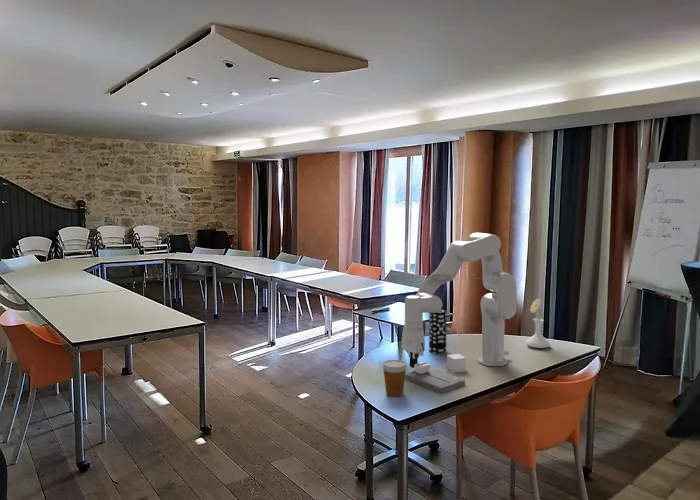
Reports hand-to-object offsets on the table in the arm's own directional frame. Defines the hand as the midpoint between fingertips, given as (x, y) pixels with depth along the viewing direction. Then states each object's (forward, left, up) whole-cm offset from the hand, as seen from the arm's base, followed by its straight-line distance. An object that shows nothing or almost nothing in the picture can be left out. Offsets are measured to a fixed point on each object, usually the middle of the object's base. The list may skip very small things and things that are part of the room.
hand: (413, 366), depth 215 cm
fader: (0, +5, -1) cm, 5 cm away
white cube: (-18, +8, -3) cm, 20 cm away
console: (0, +12, -3) cm, 12 cm away
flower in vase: (-74, +12, -3) cm, 75 cm away
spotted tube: (-31, -15, -3) cm, 35 cm away
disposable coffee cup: (+21, +11, -3) cm, 24 cm away
